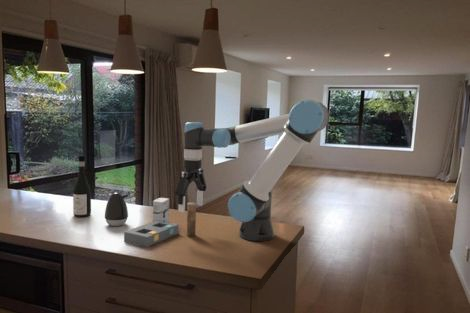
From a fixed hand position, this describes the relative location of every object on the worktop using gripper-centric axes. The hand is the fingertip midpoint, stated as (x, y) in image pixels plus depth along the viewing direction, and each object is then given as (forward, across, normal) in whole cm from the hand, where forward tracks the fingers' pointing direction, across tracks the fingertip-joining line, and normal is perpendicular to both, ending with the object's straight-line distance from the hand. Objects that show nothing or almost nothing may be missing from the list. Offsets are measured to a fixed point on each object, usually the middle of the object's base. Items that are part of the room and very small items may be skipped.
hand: (190, 208), depth 158 cm
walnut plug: (+12, 0, +1) cm, 12 cm away
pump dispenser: (+12, +6, -36) cm, 39 cm away
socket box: (+12, +11, -11) cm, 20 cm away
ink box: (+12, -6, -20) cm, 25 cm away
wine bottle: (+13, +4, -61) cm, 63 cm away
